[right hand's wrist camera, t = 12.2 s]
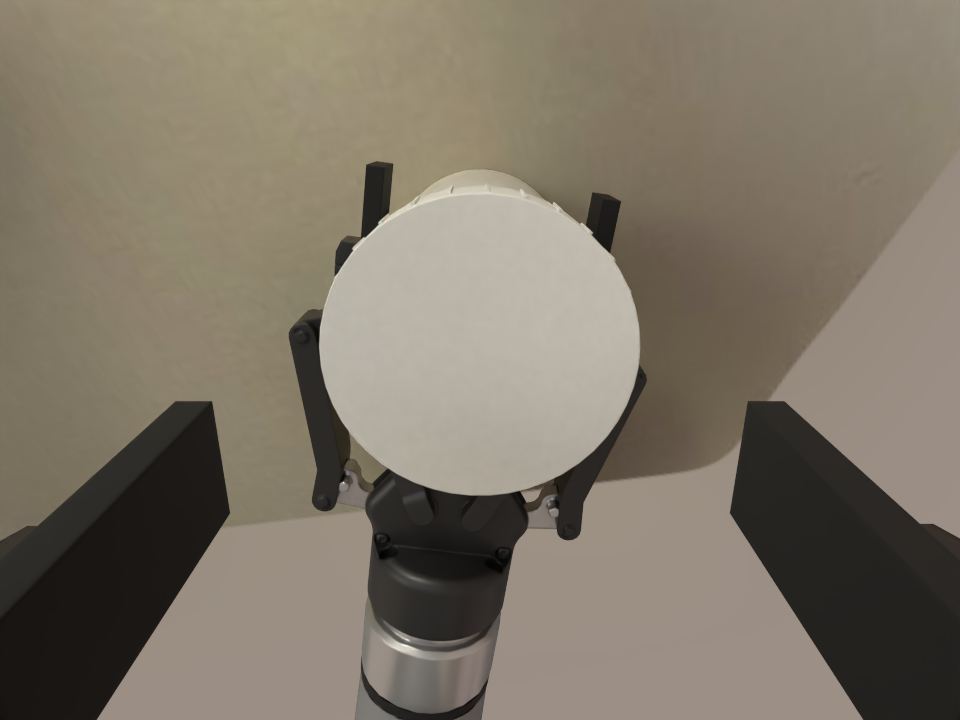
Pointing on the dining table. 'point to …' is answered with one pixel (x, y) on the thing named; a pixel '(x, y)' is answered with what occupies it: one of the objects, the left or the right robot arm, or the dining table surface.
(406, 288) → the lid
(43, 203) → the dining table surface
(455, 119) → the dining table surface
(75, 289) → the dining table surface
